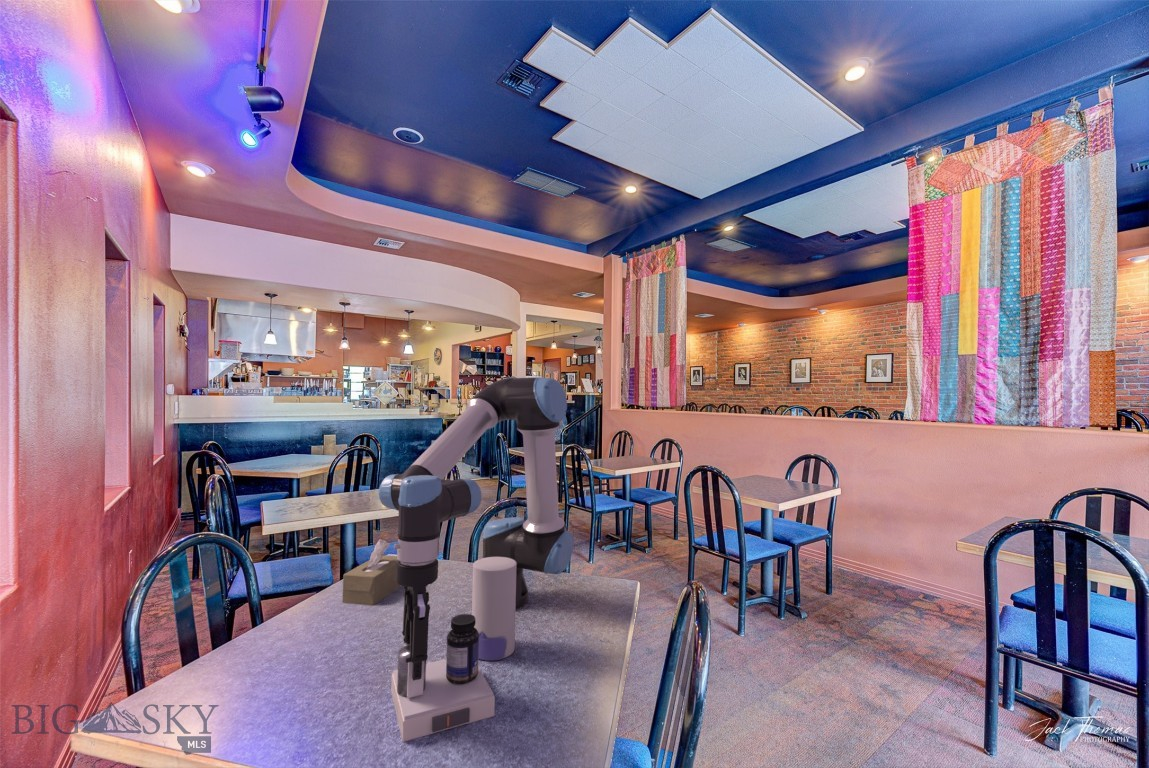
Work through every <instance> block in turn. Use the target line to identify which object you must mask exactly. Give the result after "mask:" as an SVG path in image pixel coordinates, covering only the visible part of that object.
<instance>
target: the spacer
mask: <svg viewBox="0 0 1149 768" xmlns="http://www.w3.org/2000/svg"><path fill="white" fill-rule="evenodd" d="M397 655H398V656H397V659H398V660H397V670H398V681H397V693H398V695H400V696H402V697H407V681H408V663H406V658H410V645H407V646H404V645H403V646H402V647H401V648H400V649H399V650H398V654H397ZM426 663H427V660H426V661H424V684H423V691H424V690H425V688H426Z"/></svg>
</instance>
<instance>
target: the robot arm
mask: <svg viewBox="0 0 1149 768" xmlns="http://www.w3.org/2000/svg"><path fill="white" fill-rule="evenodd" d="M567 410H568V401H567V395H566V392H565V389H564V387H563V386H562V385H561V383H560V382H559V381H558V380H557V379H555V378H549V377H544V376H543V377H542V376H541V377H540V376H539V377H536V376H535V377H506V378H502V379H499V380H496V381H494V382H492V383H491V384H490V383H489V385H487V386H486V387H483V389H481V390H479V392H477V393H476V394H475V395H474V396H473V397H472V398H471V399H470V400H469V401H468V402H467V403H466V405H465V410H464V411H463V412H462V413H461V414H460V415H459V416H458V417H457V418H456V419H455V420H454V421H453V423H451V424H450V425H449V426H448V427H447V428H446V429H445V430H444V431H443V433H441V434H440V435H439V436H438V437H437V438H436V439H435V440H434V441H433V443H431V444H430V446H428V448H426V449H425V451H424V452H422V454H421V455H419V457H418V458H417V459H416V460H414V462H412V464H410V465H409V467H408V468H407V469H406V470H405V471H404V472H403V473H396V474H389V475H387V476H385V478H384V479H383V480H382V481H381V483H380V484H379V488H378V498H379V501H380V503H381V504H382V505H383V506H384V507H385V508H388V509H391V510H395V511H398V520H397V525H398V526H397V527H398V530H397V543H394V545H393V549H394V550H396V554H397V555H396V556H397V559H398V560H399V561H398V563H397V564H396V582H397V583H398V584H399V585H401V586H400V587H403V588H404V590H403V614H402V615H403V617H402V618H403V620H402V622H403V623H402V630H401V633H402V634H401V635H402V636H403V639H402V640H403V643H404V644H403V647H404V646H407V645H410V658H406V663H408V681H407V698H410V697H415V696H419V695H423V684H424V661H426V662H427V661H428V658H429V656H428V645H429V644H428V642H429V623H430V621H429V620H430V619H429V618H430V610H431V605H430V604H429V601H430V592H429V591H427V586H429V585H431V584H434V583H435V582H436V581H437V580H438V579H439V578H438V576H439V560H438V558H439V556H440V538H441V537H440V532H441V531H440V528H441V523H443V522H446V521H450V520H453V519H456V518H457V519H458V518H461V517H465V516H467V515H469V514H472V513H474V512H475V511H477V510H478V508H479V507H480V506H481V502H482V498H483V497H482V490H481V488H480V486H479V484H478V483H477V482H476V481H475V480H473V479H472V478H458V479H454V480H453V479H452V480H451V479H444V478H445V477H446V476H447V475H448V474H449V473H450V472H451V471H452V470H453V468H455V466H456V465H457V464H458V462H460V461H461V459H462V458H463V457H464V456H465V454H466V453H467V452H468V451H470V450H471V448H472V447H473V446H474V445H475V444H476V442H477V441H478V440H479V439H480V437H482V435H484V433H485V432H486V431H487V430H489V429H490V430H491V429H493V428H494V427H496V425H497V424H498V423H500V422H502V421H509V420H510V421H515V422H516V430H517V431H518V432H519V433H521V434H522V441H523V455H524V456H523V458H524V462H523V463H524V474H525V475H524V476H525V477H524V478H525V492H526V494H525V495H526V509H527V510H526V511H527V512H526V513H527V519H526V520H525V519H524V518H522V517H515V516H514V517H513V516H511V517H504V518H498V519H493V520H490V521H488V522H487V523H486V524H485V525H484V526H483V527H484V529H483V533H482V534H483V535H482V542H483V543H482V558H487V557H506V558H511V559H513V560H515V561H516V563H517V565H516V607H515V610H516V609H519V608H520V609H521V607H523V606H525V605H526V604H527V603H528V601H529V589H528V586H527V582H526V578H525V576H524V570H528V571H534V572H538V573H544V574H545V575H548V574H550V575H551V574H552V575H559V574H562V573H563V572H564V570H566V569H567V566H568V565H569V563H570V561H571V558H572V554H573V551H574V546H575V544H574V543H575V542H574V541H575V540H574V535H573V534H572V532H571V531H569V530H566V527H565V525H566V524H565V521H564V519H563V518H561V516H559V515H560V514H559V496H558V493H559V492H558V476H557V475H558V473H557V459H556V458H557V457H556V437H555V433H556V431H557V430H558V429H559V428H560V425H561V423H560V422H562V421H563V420H564V419H565V417H566V416H567V415H566V414H567Z"/></svg>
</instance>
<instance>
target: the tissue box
mask: <svg viewBox="0 0 1149 768" xmlns="http://www.w3.org/2000/svg"><path fill="white" fill-rule="evenodd" d="M388 547H390V542H387V541H386V540H385V539H384V540H383V539H382V538H379V539H378V541H377V542H376V544H375V546H374V549H373V551H371V554H370V558H369V560H367V561H365V562H363V563H362V564H360V565H358V566H356V567H354V568H353V569H351V570H349V571H347V572H345V573H344V574H343V577H342V602H341V603H342V604H343V603H345V604H355V605H364V606H375V605H376V604H378V603H379V602H381V601H382V600H383V599H384V598H386V597H387V596H389V595H390V594H391V593H394V592H395V591H396V590H398V589H399V588H400V587H402V586H401V585H399V584H398V583H397V582H396V564H397V563H398V561H399V560H398V559H397V555H385V554H384V553H385V552H386V550H387V549H388Z"/></svg>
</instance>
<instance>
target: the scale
mask: <svg viewBox="0 0 1149 768" xmlns="http://www.w3.org/2000/svg"><path fill="white" fill-rule="evenodd" d="M446 660H447V658H444V659H440V660H436V661H432V662H426V688H425V690H424V691H423V695H419V696H415V697H410V698H407V697H402V696H400V695H398V693H397V681H398V669H394V670H393V671H392V673H391V686H390V687H391V689H390V692H391V697H392V701H393V704H394V705H393V706H394V709H395V713H396V719H397V724H398V728H399V732H400V736H401V741H402V743H405V742H408V741H412V740H415V739H418V738H421V737H425V736H426V737H427V736H429V735H431V734H432V735H433V734H435V733H439V732H443V731H446V730H449V729H453V728H456V727H460V726H463V725H466V724H467V725H468V724H471V723H474V722H478V721H481V720H485V719H488V718H492V717H495V704H496V702H495V701H496V700H495V699H496V697H495V695H494V692H493V690H492V688H491V687H490V685H489V683H488V681H487V679H486V677H485V675H484V674H483V673H482V670H481V669H480V667H479V666H478V675H477V677H476V678H475V679H474V680H472V681H470V682H468V683H465V684H453V683H451V682H449V681H448V680H447V678H446Z"/></svg>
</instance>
